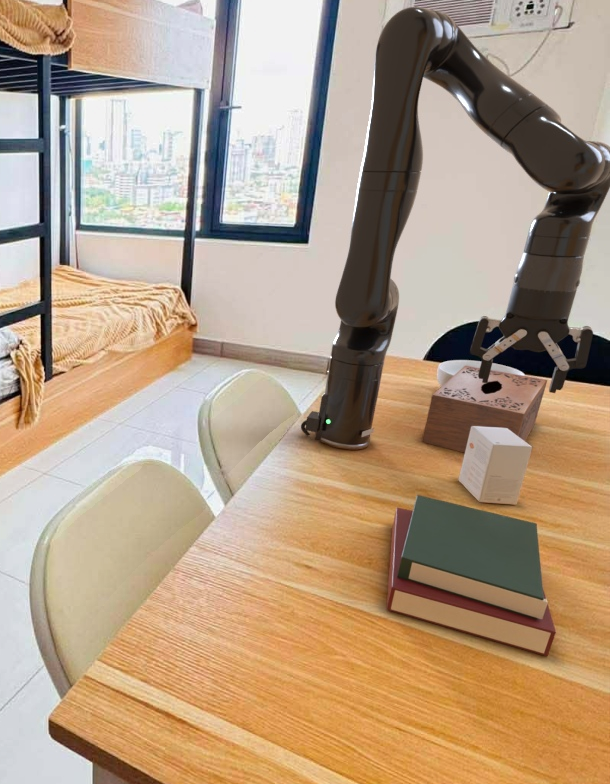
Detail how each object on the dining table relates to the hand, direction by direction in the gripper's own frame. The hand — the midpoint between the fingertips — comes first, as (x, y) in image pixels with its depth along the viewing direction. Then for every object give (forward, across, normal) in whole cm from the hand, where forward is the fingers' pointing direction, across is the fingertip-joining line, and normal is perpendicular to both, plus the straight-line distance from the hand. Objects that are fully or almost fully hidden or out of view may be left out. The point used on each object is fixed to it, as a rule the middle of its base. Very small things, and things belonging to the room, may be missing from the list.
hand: (517, 386), depth 99 cm
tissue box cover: (+19, +2, -29) cm, 35 cm away
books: (+19, +2, +31) cm, 37 cm away
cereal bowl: (+19, +4, -52) cm, 55 cm away
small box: (+19, 0, 0) cm, 19 cm away
